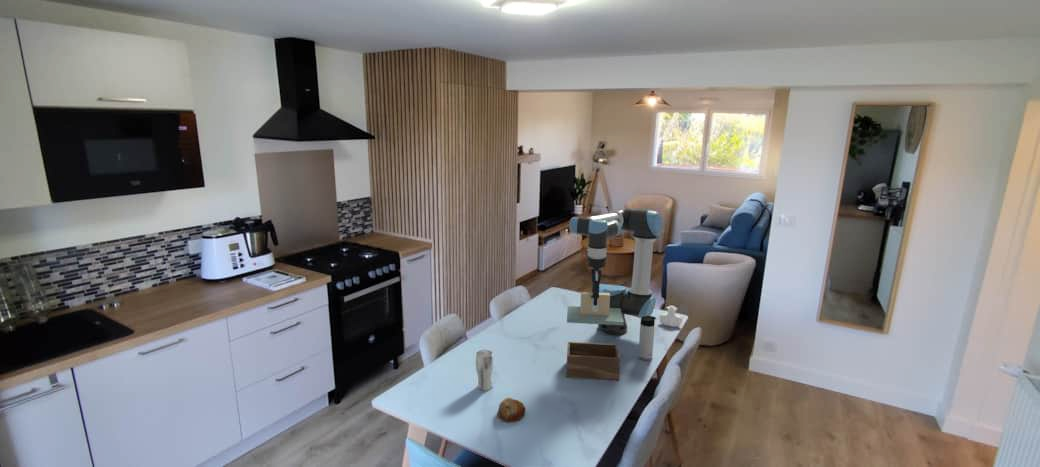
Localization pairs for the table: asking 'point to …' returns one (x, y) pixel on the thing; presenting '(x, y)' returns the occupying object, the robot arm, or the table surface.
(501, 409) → the bread roll
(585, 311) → the lid
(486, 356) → the beer glass
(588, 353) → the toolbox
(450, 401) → the table surface
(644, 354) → the travel mug
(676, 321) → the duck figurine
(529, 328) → the table surface
